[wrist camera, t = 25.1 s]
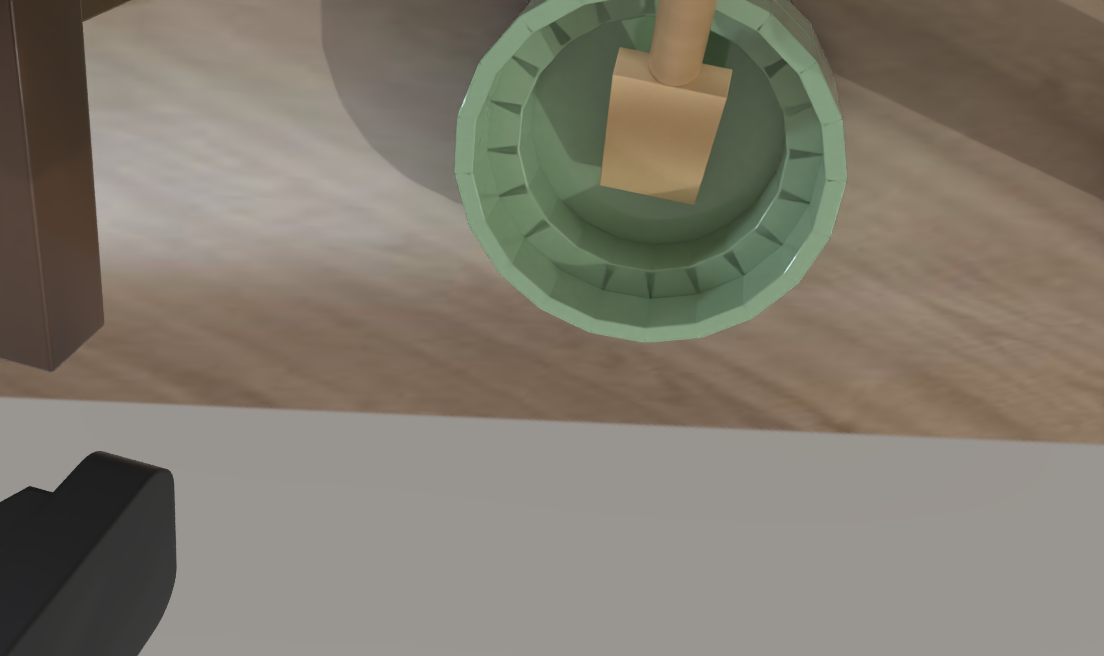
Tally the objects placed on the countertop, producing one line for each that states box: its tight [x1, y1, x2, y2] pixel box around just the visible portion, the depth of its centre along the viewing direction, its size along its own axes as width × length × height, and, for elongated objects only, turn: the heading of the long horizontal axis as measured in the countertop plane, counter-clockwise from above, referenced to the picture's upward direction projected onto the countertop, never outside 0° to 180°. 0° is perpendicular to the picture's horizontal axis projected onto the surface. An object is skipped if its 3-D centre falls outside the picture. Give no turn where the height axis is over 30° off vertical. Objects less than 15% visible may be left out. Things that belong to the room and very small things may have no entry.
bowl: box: [454, 0, 847, 343], centre depth 42 cm, size 16×16×6 cm
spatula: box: [599, 0, 732, 205], centre depth 35 cm, size 22×4×2 cm
